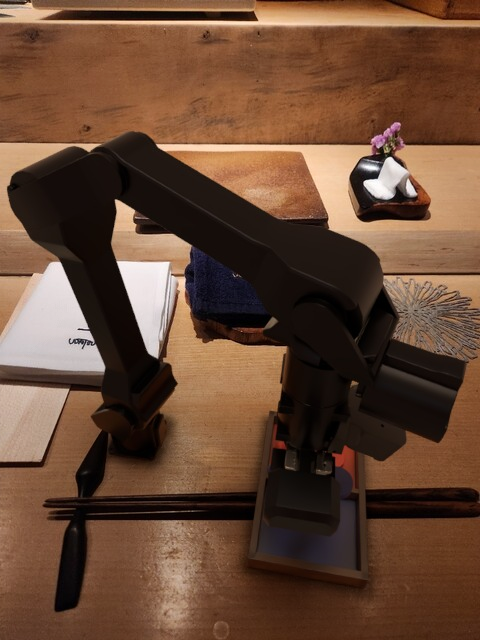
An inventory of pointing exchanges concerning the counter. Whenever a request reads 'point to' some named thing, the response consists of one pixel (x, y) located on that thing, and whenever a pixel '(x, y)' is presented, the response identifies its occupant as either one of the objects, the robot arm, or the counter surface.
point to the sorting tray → (311, 549)
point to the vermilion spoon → (338, 458)
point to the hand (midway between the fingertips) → (297, 474)
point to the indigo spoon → (341, 477)
